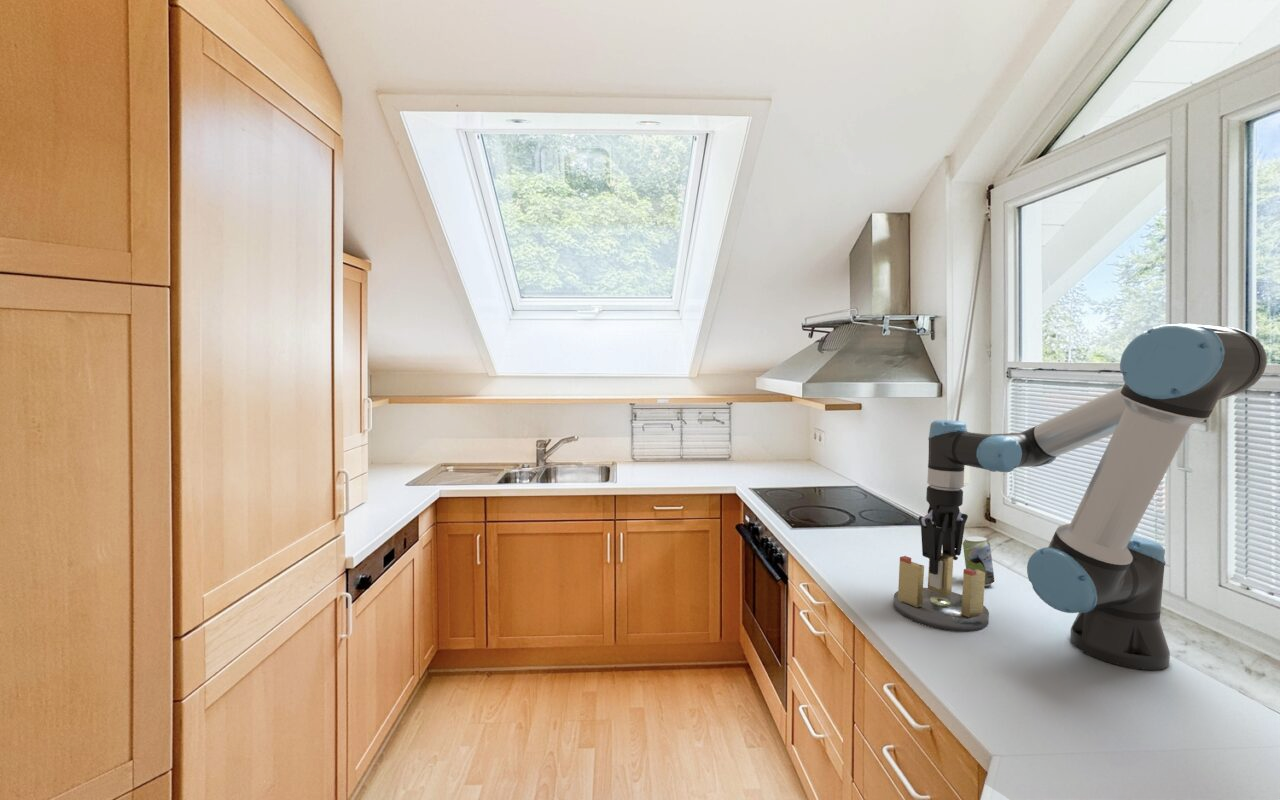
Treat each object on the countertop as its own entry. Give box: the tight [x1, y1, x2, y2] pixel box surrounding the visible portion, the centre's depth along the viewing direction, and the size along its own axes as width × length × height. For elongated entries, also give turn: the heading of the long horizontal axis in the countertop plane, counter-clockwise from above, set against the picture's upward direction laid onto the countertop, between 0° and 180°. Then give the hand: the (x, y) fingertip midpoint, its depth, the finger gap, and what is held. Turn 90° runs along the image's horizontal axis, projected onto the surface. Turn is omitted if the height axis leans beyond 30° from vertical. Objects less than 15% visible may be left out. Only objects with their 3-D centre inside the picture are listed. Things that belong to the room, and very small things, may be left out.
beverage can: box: [962, 535, 996, 587], centre depth 150 cm, size 6×7×12 cm
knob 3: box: [961, 568, 985, 618], centre depth 126 cm, size 5×2×10 cm, turn 119°
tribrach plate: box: [893, 587, 990, 633], centre depth 132 cm, size 19×19×3 cm
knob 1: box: [897, 555, 925, 607], centre depth 132 cm, size 5×2×10 cm, turn 29°
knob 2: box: [927, 552, 954, 596], centre depth 138 cm, size 5×2×10 cm, turn 28°
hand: (940, 586), depth 138 cm, fingers closed on knob 2, 2 cm apart
